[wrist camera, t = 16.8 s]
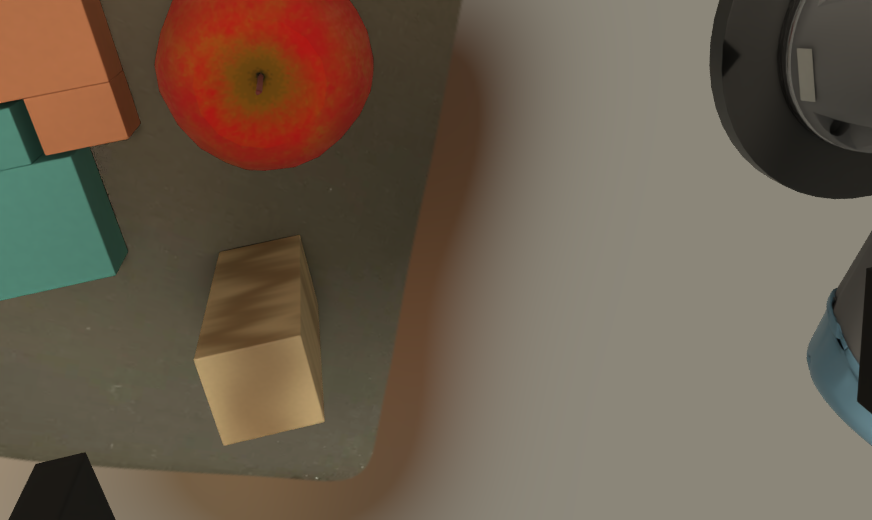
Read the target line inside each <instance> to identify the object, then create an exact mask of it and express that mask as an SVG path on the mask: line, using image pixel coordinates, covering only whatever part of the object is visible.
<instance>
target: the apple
mask: <svg viewBox="0 0 872 520" xmlns="http://www.w3.org/2000/svg"><path fill="white" fill-rule="evenodd" d="M155 70H156V75H157V81H158V86H159V92H160V93H161V95H162V97H163V99H164V101H165V102H166V104H167V106H168V108H169V110H170V112H171V113H172V115H173V117H174V119H175V121H176V122H177V124H178V125H179V126H180V127H181V129H182V130H183V131H184V132H185V133H186V134H187V135H188V136H189V137H190V138H191V139H192V140H193V141H194V142H195V143H196V144H197V145H198V146H199V147H200V148H201V149H203V150H205V151H206V152H208V153H210V154H212V155H213V156H215V157H217V158H219V159H220V160H222V161H224V162H226V163H228V164H231V165H234V166H237V167H240V168H243V169H246V170H262V171H266V170H275V169H283V168H291V167H296V166H298V165H301V164H303V163H305V162H308V161H310V160H312V159H315V158H317V157H319V156H320V155H322V154H323V153H324V152H325V151H326V150H327V149H329V148H330V147H331V146H332V145H333V144H335V143H336V142H337V141H338V140H339V139H341V138H342V136H343V135H344V134H345V133H346V131H347V130H348V129H349V128H350V126H351V125H352V124H353V123H354V121H355V120H356V119H357V118H358V116H359V115H360V113H361V111H362V109H363V107H364V104H365V102H366V100H367V98H368V95H369V93H370V91H371V85H372V77H373V54H372V50H371V46H370V41H369V37H368V32H367V30H366V28H365V26H364V24H363V22H362V20H361V18H360V16H359V14H358V12H357V10H356V9H355V7H354V6H353V4H352V3H351V2H350V0H173V1H172V3H171V6H170V9H169V11H168V14H167V17H166V19H165V22H164V25H163V27H162V30H161V33H160V38H159V43H158V48H157V53H156V58H155Z"/></svg>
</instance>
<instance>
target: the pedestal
mask: <svg viewBox="0 0 872 520" xmlns="http://www.w3.org/2000/svg"><path fill="white" fill-rule="evenodd" d="M194 363H195V365H196V368H197V371H198V374H199V377H200V380H201V383H202V385H203V388H204V391H205V394H206V397H207V400H208V403H209V405H210V408H211V411H212V414H213V417H214V420H215V423H216V425H217V428H218V431H219V434H220V437H221V440H222V443H223V445H229V444H233V443H238V442H242V441H246V440H250V439H255V438H259V437H263V436H267V435H271V434H276V433H280V432H284V431H288V430H292V429H297V428H301V427H305V426H309V425H313V424H318V423H322V422H324V421H325V419H324V401H323V383H322V365H321V348H320V330H319V312H318V302H317V298H316V295H315V291H314V287H313V283H312V279H311V276H310V272H309V268H308V264H307V260H306V256H305V253H304V249H303V245H302V241H301V237H300V235H296V236H291V237H287V238H282V239H278V240H273V241H268V242H264V243H259V244H255V245H250V246H245V247H241V248H236V249H232V250H227V251H222V252H219V256H218V260H217V264H216V268H215V273H214V277H213V281H212V285H211V289H210V294H209V298H208V302H207V306H206V310H205V315H204V319H203V323H202V327H201V331H200V335H199V340H198V344H197V348H196V352H195V356H194Z"/></svg>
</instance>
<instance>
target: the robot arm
mask: <svg viewBox="0 0 872 520" xmlns="http://www.w3.org/2000/svg"><path fill="white" fill-rule="evenodd" d="M778 73H779V81H780V85H781V89H782V93H783V95H784V98H785V101H786V103H787V105H788V107H789V109H790V111H791V112H792V114H793V115H794V117H795V118H796V119H797V121H798V122H799V123H800V124H801V125H802V126H803V127H804V128H805V129H806V130H807V131H809V132H810V133H811V134H813V135H814V136H816V137H818V138H819V139H821V140H824V141H826V142H828V143H831V144H833V145H836V146H838V147H841V148H844V149H847V150H851V151H858V152H865V153H872V0H791V2H790V5H789V7H788V9H787V12H786V15H785V18H784V21H783V25H782V29H781V33H780V39H779V46H778ZM807 362H808V366H809V370H810V374H811V378H812V380H813V382H814V384H815V386H816V388H817V389H818V391H819V392H820V394H821V395H822V397H823V398H824V399H825V401H826V402H827V403H828V404H829V406H830V407H831V408H832V409H833V410H834V411H835V412H836V413H837V415H838V416H839V417H840V418H841V419H842V420H843V421H844V422H845V423H846V424H847V425H849V427H851V428H852V429H853V430H854V431H855V432H856V433H857V434H858V435H859V436H861V437H862V438H863V439H864V440H865V441H867V442H868V443H869V444H870V445H871V446H872V231H871V233H870V235H869V236H868V238H867V240H866V241H865V243H864V245H863V247H862V248H861V250H860V251H859V253H858V255H857V256H856V259H855V260H854V261H853V263H852V265H851V266H850V268H849V270H848V272H847V273H846V275H845V277H844V278H843V280H842V282H841V283H840V285H839V287H838V288H836V289H834V290H833V291H832V292H831V294H830V296H829V298H828V301H827V310H826V312H825V314H824V316H823V318H822V319H821V321H820V323H819V325H818V327H817V329H816V331H815V333H814V335H813V337H812V339H811V341H810V343H809V346H808V350H807ZM9 520H115V517H114V515H113V513H112V511H111V508H110V506H109V504H108V502H107V500H106V497H105V495H104V493H103V490H102V488H101V486H100V484H99V482H98V479H97V477H96V475H95V473H94V470H93V468H92V466H91V464H90V461H89V459H88V457H87V455H86V452H85V453H80V454H76V455H72V456H68V457H63V458H59V459H55V460H51V461H47V462H42V463H38V464H35V466H34V469H33V471H32V473H31V475H30V477H29V479H28V481H27V483H26V485H25V487H24V489H23V491H22V493H21V495H20V497H19V499H18V501H17V503H16V505H15V507H14V510H13V512H12V514H11V516H10V518H9Z"/></svg>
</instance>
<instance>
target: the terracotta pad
mask: <svg viewBox="0 0 872 520" xmlns="http://www.w3.org/2000/svg"><path fill="white" fill-rule="evenodd" d="M122 70H123V69H122V66H121V63H120V60H119V57H118V54H117V51H116V48H115V45H114V42H113V39H112V36H111V33H110V30H109V27H108V24H107V21H106V18H105V15H104V12H103V9H102V6H101V3H100V0H0V103H4V102H9V101H14V100H19V99H24V102H25V105H26V107H27V110H28V113H29V115H30V118H31V120H32V123H33V125H34V128H35V130H36V133H37V135H38V138H39V141H40V143H41V146H42V148H43V151H44V153H45V155H51V154H56V153H61V152H66V151H71V150H76V149H81V148H86V147H91V146H96V145H101V144H106V143H110V142H115V141H120V140H125V139H129V137H130V136H131V135H132V134H133V132H134V131H135V130H136V129H137V127H138V126H139V125H140V124H141V123H140V120H139V117H138V114H137V111H136V108H135V105H134V102H133V99H132V96H131V93H130V90H129V87H128V84H127V81H126V78H125V75H124V72H123V71H122Z"/></svg>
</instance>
